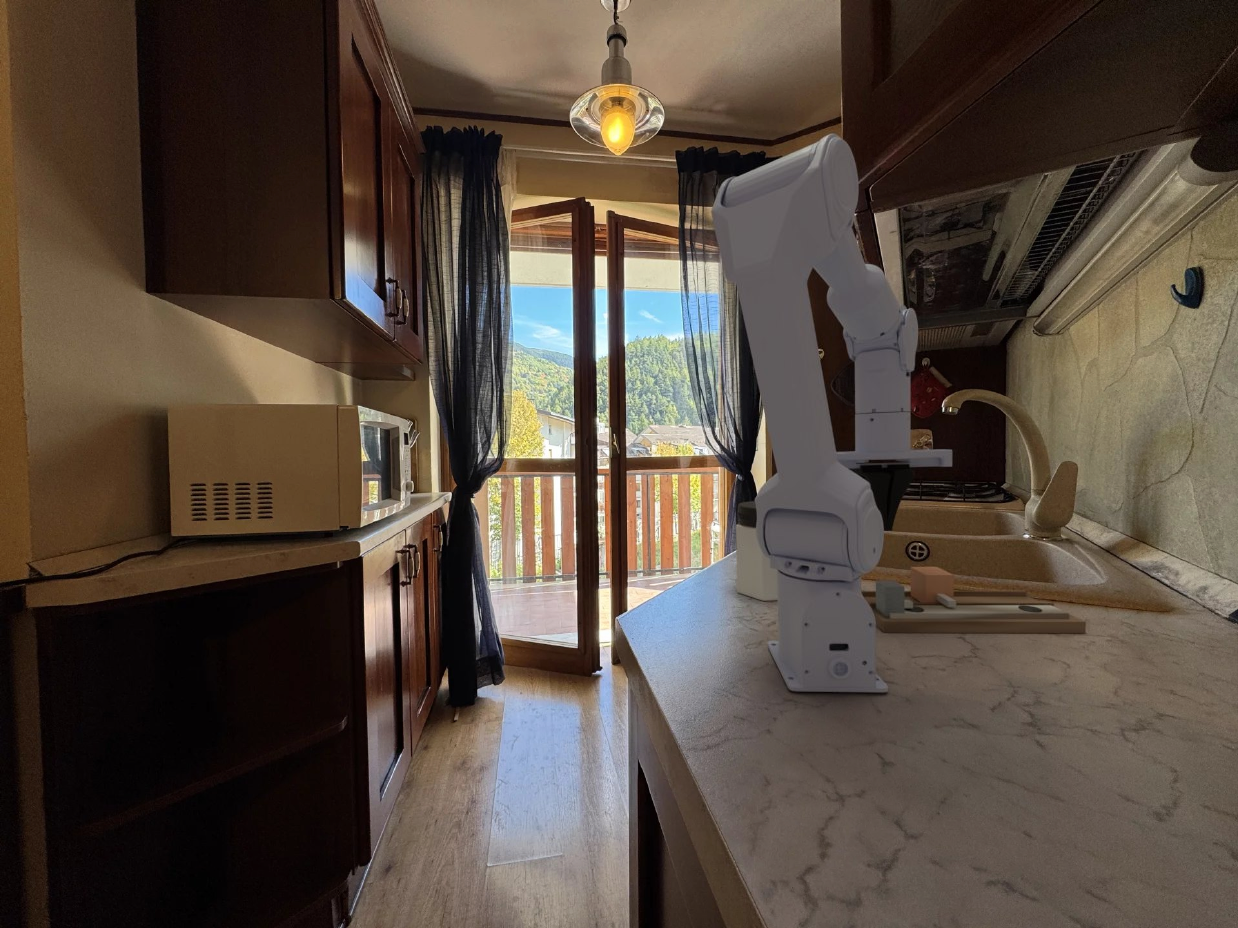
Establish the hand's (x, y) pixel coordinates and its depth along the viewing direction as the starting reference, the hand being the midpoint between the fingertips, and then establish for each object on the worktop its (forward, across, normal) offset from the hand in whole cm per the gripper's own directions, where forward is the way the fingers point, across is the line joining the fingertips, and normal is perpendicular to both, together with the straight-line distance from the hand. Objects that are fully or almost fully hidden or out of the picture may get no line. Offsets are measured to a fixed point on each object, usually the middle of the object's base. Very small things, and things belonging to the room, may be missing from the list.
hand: (882, 529), depth 59 cm
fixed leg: (+9, 0, +4) cm, 10 cm away
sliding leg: (+9, -6, +1) cm, 10 cm away
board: (+10, -8, +2) cm, 13 cm away
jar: (+10, +12, -8) cm, 17 cm away
